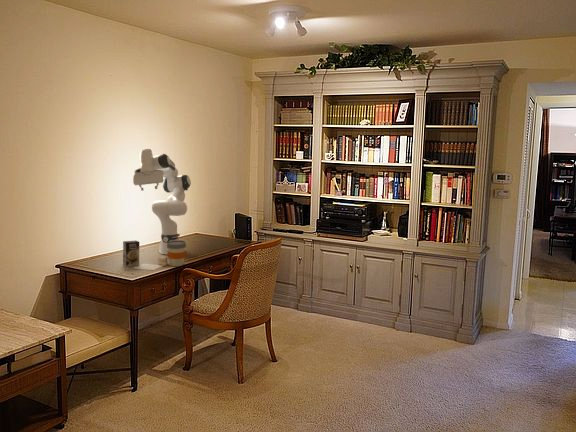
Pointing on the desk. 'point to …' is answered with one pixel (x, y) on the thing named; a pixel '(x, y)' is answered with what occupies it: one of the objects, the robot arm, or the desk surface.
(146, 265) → the grey mat
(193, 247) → the desk surface
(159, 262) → the maple block
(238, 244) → the desk surface
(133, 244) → the coffee box
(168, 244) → the reusable coffee cup
